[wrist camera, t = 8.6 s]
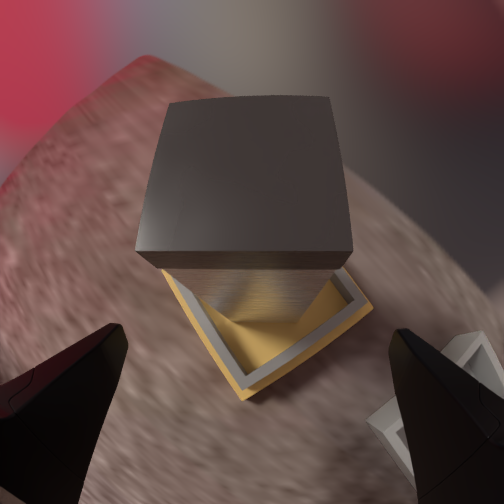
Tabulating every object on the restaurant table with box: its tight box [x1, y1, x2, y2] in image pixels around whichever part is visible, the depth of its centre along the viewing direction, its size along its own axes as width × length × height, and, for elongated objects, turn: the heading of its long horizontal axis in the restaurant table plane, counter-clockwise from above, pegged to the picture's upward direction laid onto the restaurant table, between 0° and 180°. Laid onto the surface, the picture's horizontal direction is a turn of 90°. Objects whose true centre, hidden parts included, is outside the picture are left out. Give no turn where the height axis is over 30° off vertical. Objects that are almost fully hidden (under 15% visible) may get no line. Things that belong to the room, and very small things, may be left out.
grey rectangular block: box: [135, 95, 353, 323], centre depth 12 cm, size 4×4×13 cm
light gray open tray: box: [365, 330, 504, 492], centre depth 13 cm, size 12×9×4 cm
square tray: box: [162, 266, 374, 401], centre depth 18 cm, size 10×10×3 cm
